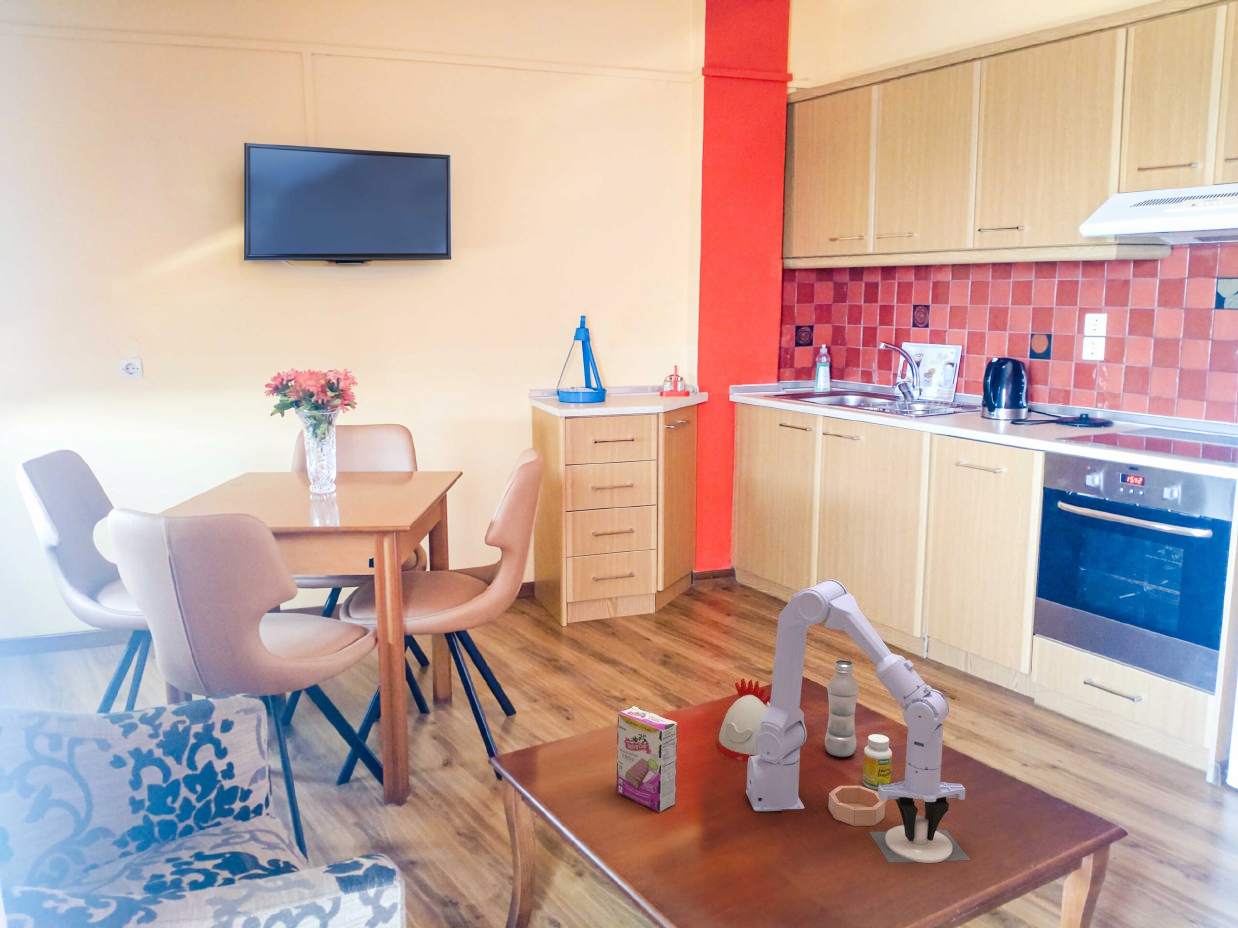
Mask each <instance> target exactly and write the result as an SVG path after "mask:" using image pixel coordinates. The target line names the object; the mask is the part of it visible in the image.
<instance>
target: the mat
mask: <svg viewBox="0 0 1238 928" xmlns="http://www.w3.org/2000/svg"><path fill="white" fill-rule="evenodd" d="M887 831H888V830H886V831H869V832H868V834H869V835H870V837H871V838H872V839H873V841H874V843H876V845H877V847H878V848H879V850H880V852H881V853H882V855H883V856H884V858H885V859H886V861H887V862H888V864H895V863H897V864H898V863H917V862H916V861H911V860H908V859H905V858H903V857H900V856H898V855H896V854H895V853H893V852H892V851H891V850H890V849H889V848H888V847H887V845H886V843H885V836H886V833H887ZM936 831H937V832H939V833H941V834H943V835H944V836H946V837H947V838H948V839H949V840H950V842H951V843H952V855H951V856H950V857H949V858H948V859H946V860H944V861H943V862H962V861H963V862H964V861H968V862H969V861H971V859H970V858H969V856H968V855H967V853H966V852H965V851H964V850H963V849H962V847H961V846H960V845H959V844H958V843H957V841H956V840H955V839H954V838H953V837H952V835H951V834H950V833H949V832H948V830H947V829H936Z"/></svg>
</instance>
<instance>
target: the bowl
mask: <svg viewBox="0 0 1238 928" xmlns="http://www.w3.org/2000/svg"><path fill="white" fill-rule="evenodd" d="M828 811H829V812H830V814H831V815H832V817H833V818H834V819H835V820H837V821H840V822H843V823H845V824H848V825H850V826H854V827H858V826H859V827H860V826H862V827H863V826H864V827H865V826H876V825H877V824H878V823H880V822H882V820H883V819H885V817H886V816H885V815H886V814H885V812H886V801H881V800H880V798H879V797H878V790H874V789H871V788H868V787H866V786H863V785H862V786H861V785H838V786H837V787H835V788H834V789H833V790H831V791H830V792H829V793H828Z"/></svg>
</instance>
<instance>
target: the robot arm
mask: <svg viewBox="0 0 1238 928" xmlns="http://www.w3.org/2000/svg"><path fill="white" fill-rule="evenodd" d="M858 605H859V604H858V603H857V601H856V598H855V596H853V594H851V593H850V592H848V590H847V588H846V587H845V585H844V584H843V583H842V582H841V581H838V580H837V579H836V580H835V579H832V578H831V579H830V578H828V579H826V580H822V581H821V582H819V583H816V584H814V585H813V586H811V587H807V588H804V589H801V590H800V591H798V592H796V593H794V594H792V595H791V599H790V600H789V601H788V603H787V604H786V606H784V608H783V609H782V610H781V612H780V613H779V615H778V619H777V629H776V637H775V638H776V642H775V651H774V658H773V659H774V661H773V671H772V682H771V693H770V694H771V697H770V702H769V703H770V707H769V709H768V711H767V712H766V714H765V716H764V717H763V719H762V721H761V728H760V730H759V732H758V733H757V735H756V737H755V747H756V750H757V752H758V754H759V755H756V756H751V757H749V759H748V762H747V772H746V773H747V775H746V790H745V794H746V795H747V798H748V800H749V803H750V805H751V807H752V809H753V811H754V812H782V811H783V810H801V809H802V810H803V809H805V806H804V804H803V802H802V801H801V798H800V797H799V786H800V785H799V784H800V765H801V764H800V762H801V761H800V760H801V759H800V758H801V747H802V746H803V745H804V744H805V743H806V741H807V738H808V730H807V728H806V725H805V720H804V718H805V713H804V711H803V710H802V709H801V708H800V705H801V696H802V695H801V694H802V685H803V676H804V674H803V673H804V665H805V656H806V647H807V646H806V645H807V635H808V629H809V628H810V627H811V626H812V625H816V624H820V623H822V622H823V621H826V622H825V624H824V626H823V627H824V628H826V629H832V630H839V631H843V632H844V633H846V634H847V635H848V636H849V638H850V639H851V640H852V641H853V642H854V643H855V644H856V646H858V647H859V649H861V651H862V652H863V653H864V655H865V656H867V657H868V659H870V661H871V662H872V663H873V664H874V665H875V667H876V671H875V672H876V673H875V675H876V678H877V679H878V680H879V682H880V683H881V684H882V685H883V686H884V688H885V690H887V691H888V693H889V694H890V696H892V698H893V699H894V700H895V701H896V702H897V704H898V705H899V706H900V707H901V708H902V709H903V712H902V718H903V721H904V722H905V724H906V726H907V735H906V737H907V739H906V753H905V766H904V767H905V768H904V770H905V771H904V780H902V781H898V782H894V783H891V784H889V785H880V786H878V790H877V792H878V797H879V798H880V800H881V801H885V802H888V801H889V800H895V803H896V804H897V807H898V809H899V812H900V816H901V819H902V823H903V824H902V825H904V829H905V836H906V837H907V839H908V840H909V841H913V840H914V827H915V819H916V815H917V814H918V812H919V809H918V807H917V806H916V805H915V801H914V799H916V800H923V802H924V817H926V818H927V819H928V820H929V822H928V838H927V839H928V840H929V841H932V840H933V838H934V834H935V832H936V830H938V827H939V824H940V822H941V820H942V819H943V817H944V816H945V815H946V813H947V812H948V811H949V808H950V804H949V802H948V801H947V799H953V798H954V799H957V800H960V801H961V800H962V801H963V800H966V788H965V787H964V785H963V784H961V783H951V782H950V783H949V782H943V781H941V772H942V771H941V770H942V755H943V742H944V741H943V740H944V739H943V734H944V733H943V732H944V731H943V730H944V724H943V723H942V722H944V721H945V720H946V719H947V717H948V716H949V713H950V706H949V702H948V700H947V699H946V698H945V696H944V693H942V692H941V691H940V690H938V689H934V688H932V686H930V684H928V685H927V683H926V682H925V681H924V680H923V678H921V676H920V675H919V674H918V673H917V671H916V670H915V669H914V668H913V667H914V666H915V665H914V663H913V662H912V661H911V660H910V659H907V660H906V658H905V657H904V656H903V655H899V654H895V653H892V652H891V650H890V649H889V647H888V646H887V645H886V644H885V642H884V641H883V640H882V638H881V637H880V635H879V634H878V632H877V630H875V628H874V627H873V625H872V624H871V623H870V622H869V620H868V618H866V617H865V614H863V612H862V611H861V609H860V607H859V606H858Z"/></svg>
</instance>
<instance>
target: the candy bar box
mask: <svg viewBox="0 0 1238 928" xmlns="http://www.w3.org/2000/svg"><path fill="white" fill-rule="evenodd" d="M616 735H617V737H616V738H617V745H616V750H617V751H616V794H618V795H620V796H623V797H624V798H627V799H629V800H631V801H633V802H635V803H638V804H640V805H642V806H643V807H644V806H645V807H646V808H648V809H651V810H653V811H655V812H657V813H663V812H664V811H666V810H668V809H669V808H672V807H673V806H675V805H676V793H677V791H676V790H677V786H676V785H677V754H678V753H677V751H678V750H677V747H678V722H676V721H674V720H671V719H669V718H666V717H663V716H661V715H658V714H656V713H653V712H650V711H649V710H648V711H647V710H645V709H642V708H641V707H637V706H635V705H633V706H631V707H628V708H625V709H623V710H620V711H618V712H617V734H616Z"/></svg>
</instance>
